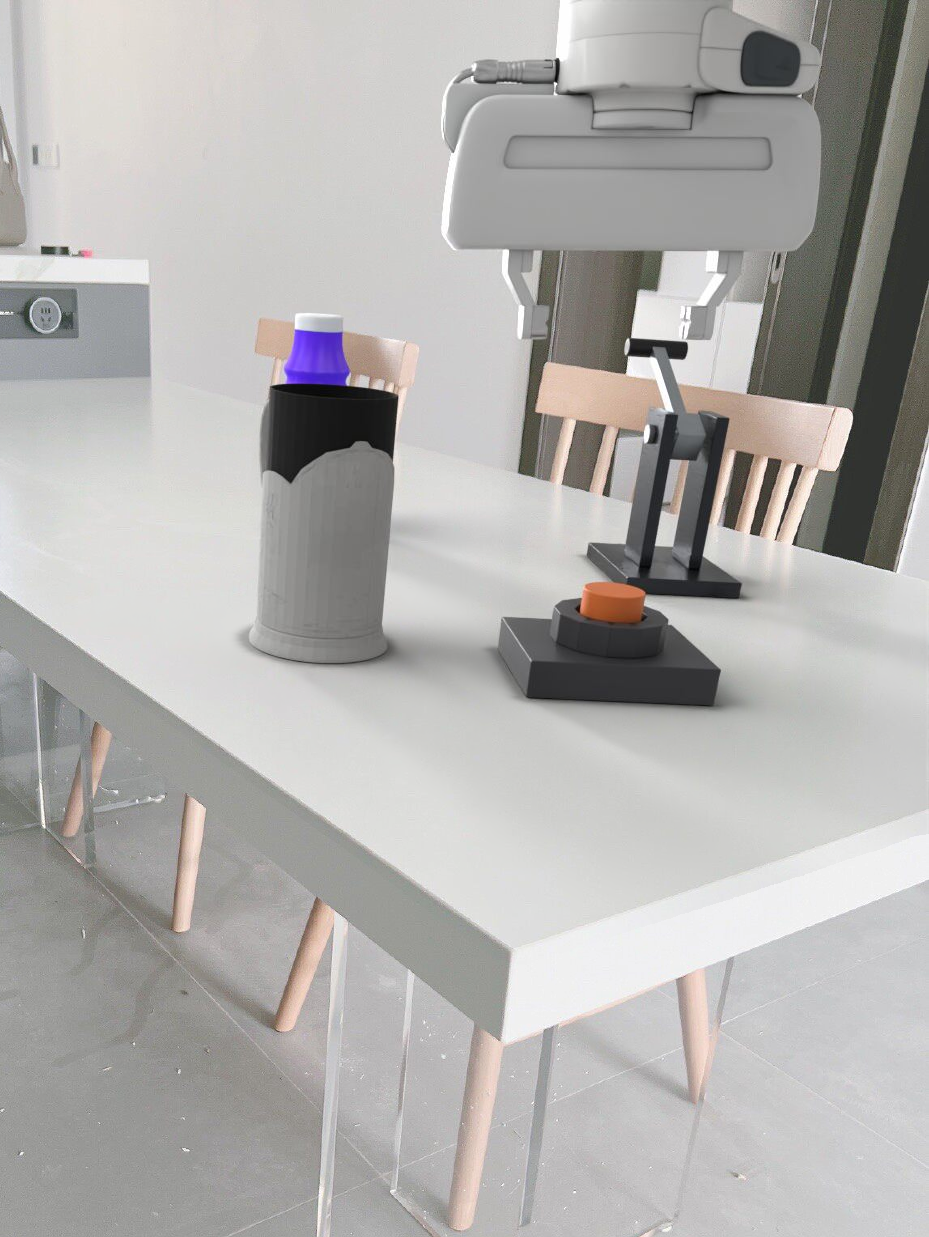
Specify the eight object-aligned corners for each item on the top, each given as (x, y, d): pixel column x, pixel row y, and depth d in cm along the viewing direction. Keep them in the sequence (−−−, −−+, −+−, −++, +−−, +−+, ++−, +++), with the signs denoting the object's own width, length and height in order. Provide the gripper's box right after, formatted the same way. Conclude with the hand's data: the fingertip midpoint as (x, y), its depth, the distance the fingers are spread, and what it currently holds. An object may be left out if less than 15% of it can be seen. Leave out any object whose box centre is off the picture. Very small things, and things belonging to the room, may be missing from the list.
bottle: (314, 533, 105) (327, 317, 98) (259, 522, 108) (268, 311, 101) (356, 521, 111) (371, 316, 104) (303, 511, 114) (314, 311, 107)
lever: (621, 354, 103) (629, 328, 101) (679, 358, 103) (688, 332, 101) (651, 458, 94) (660, 432, 92) (714, 462, 95) (724, 436, 93)
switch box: (665, 657, 78) (677, 596, 77) (713, 706, 70) (728, 638, 68) (497, 649, 77) (505, 588, 76) (525, 697, 69) (535, 629, 68)
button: (631, 611, 74) (635, 583, 73) (648, 628, 71) (653, 599, 70) (572, 608, 74) (577, 580, 73) (587, 625, 70) (592, 596, 70)
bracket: (586, 556, 104) (610, 399, 99) (688, 561, 105) (718, 406, 99) (625, 592, 93) (654, 419, 88) (739, 598, 94) (775, 426, 89)
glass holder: (283, 668, 71) (297, 399, 65) (197, 603, 83) (202, 370, 76) (412, 656, 75) (437, 401, 69) (313, 596, 86) (327, 373, 80)
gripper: (450, 49, 62) (438, 341, 67) (853, 51, 62) (807, 343, 67) (438, 67, 67) (428, 335, 73) (806, 70, 68) (768, 337, 73)
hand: (613, 339), depth 70 cm, fingers open, 8 cm apart
